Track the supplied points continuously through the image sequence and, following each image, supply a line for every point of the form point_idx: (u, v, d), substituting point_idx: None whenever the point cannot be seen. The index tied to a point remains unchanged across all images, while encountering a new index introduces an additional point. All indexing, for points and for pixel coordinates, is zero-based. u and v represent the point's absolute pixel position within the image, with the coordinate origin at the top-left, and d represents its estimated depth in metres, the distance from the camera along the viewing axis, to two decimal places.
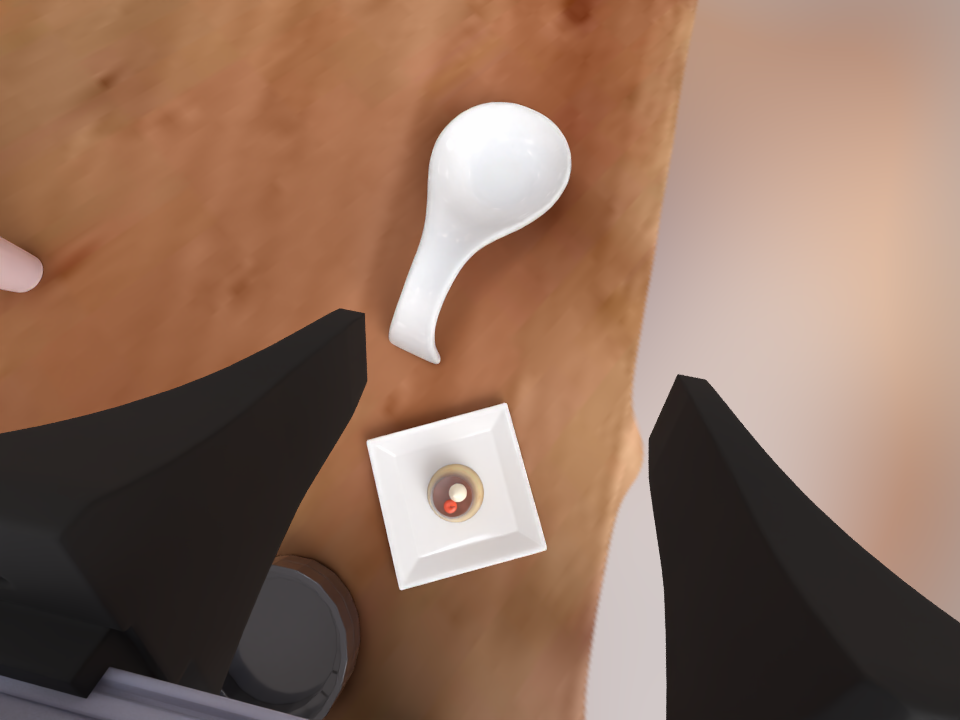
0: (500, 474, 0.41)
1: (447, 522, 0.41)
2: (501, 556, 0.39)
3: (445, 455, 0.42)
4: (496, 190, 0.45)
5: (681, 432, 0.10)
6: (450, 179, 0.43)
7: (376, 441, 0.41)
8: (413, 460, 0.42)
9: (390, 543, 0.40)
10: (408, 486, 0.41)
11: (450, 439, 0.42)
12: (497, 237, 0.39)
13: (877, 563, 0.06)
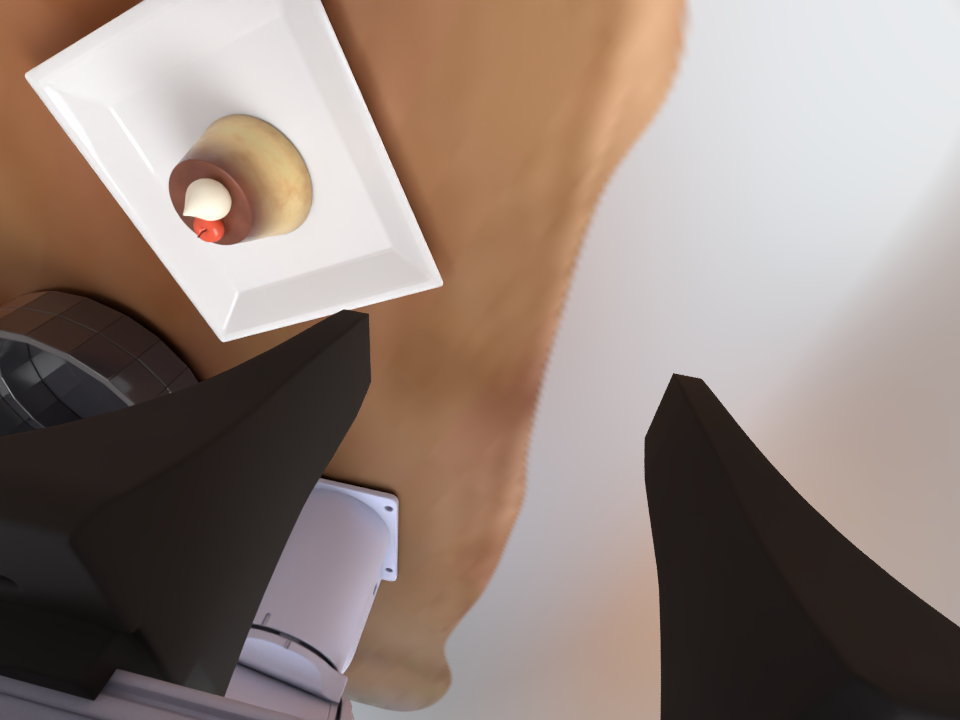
0: (332, 132, 0.18)
1: None
2: (363, 296, 0.21)
3: (206, 95, 0.18)
4: None
5: (676, 431, 0.10)
6: None
7: (43, 75, 0.18)
8: (149, 111, 0.19)
9: (175, 276, 0.22)
10: (167, 169, 0.20)
11: (200, 52, 0.17)
12: None
13: (869, 561, 0.06)
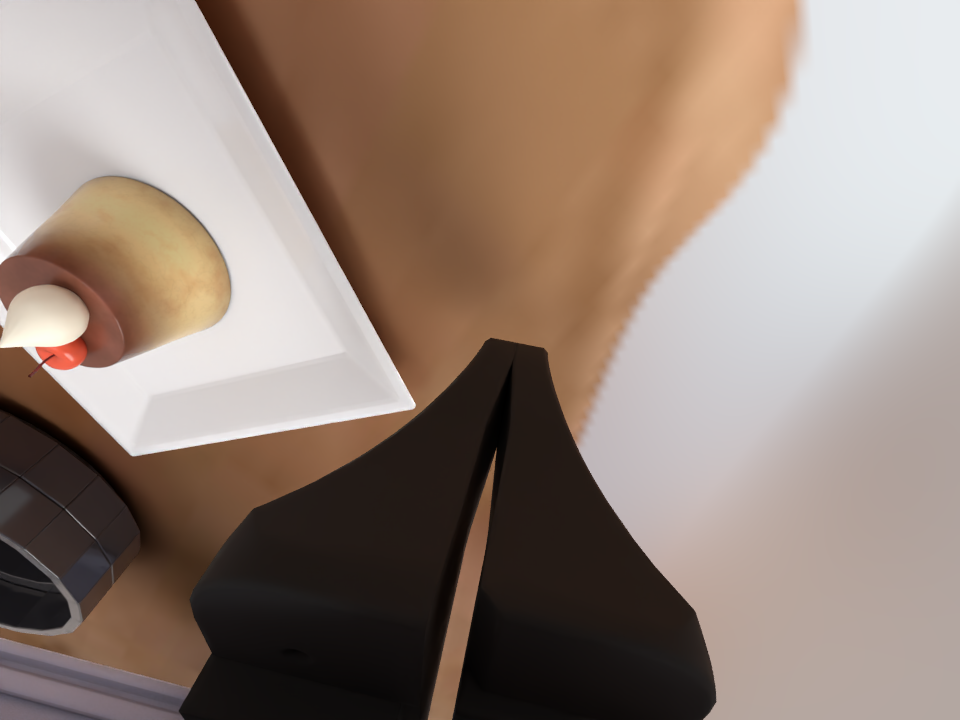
0: (248, 203, 0.12)
1: None
2: (308, 414, 0.15)
3: (66, 149, 0.13)
4: None
5: (507, 397, 0.10)
6: None
7: None
8: None
9: (58, 380, 0.17)
10: None
11: (44, 89, 0.12)
12: None
13: (603, 503, 0.07)
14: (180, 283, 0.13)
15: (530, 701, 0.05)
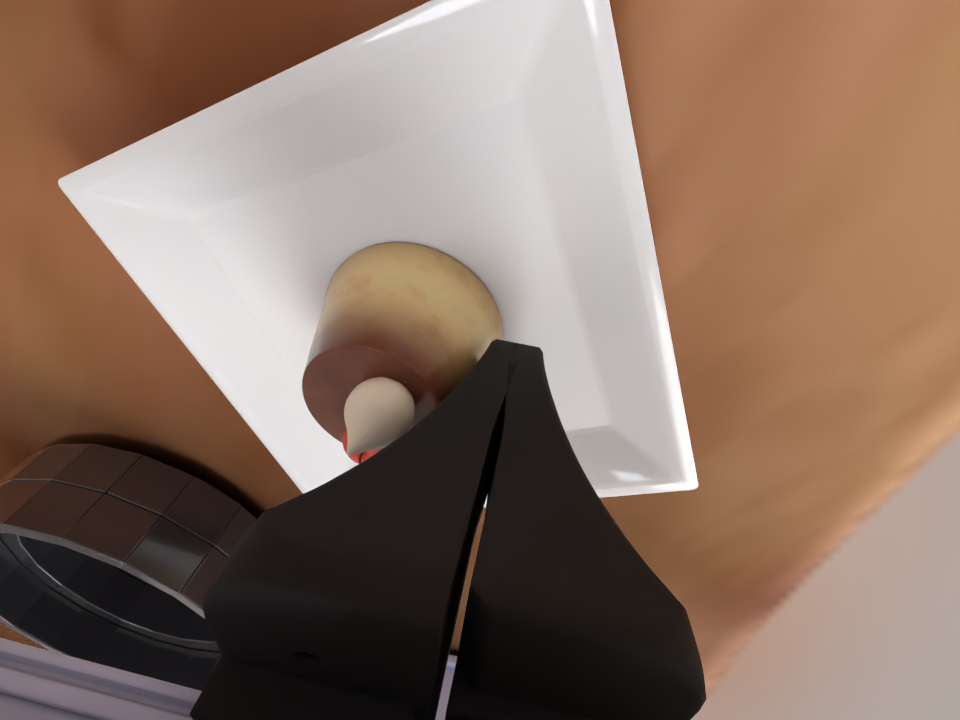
0: (558, 273, 0.11)
1: None
2: None
3: (353, 213, 0.11)
4: None
5: None
6: None
7: (88, 183, 0.11)
8: (253, 231, 0.12)
9: (268, 446, 0.15)
10: (270, 309, 0.13)
11: (355, 151, 0.10)
12: None
13: (596, 502, 0.07)
14: None
15: (521, 699, 0.05)
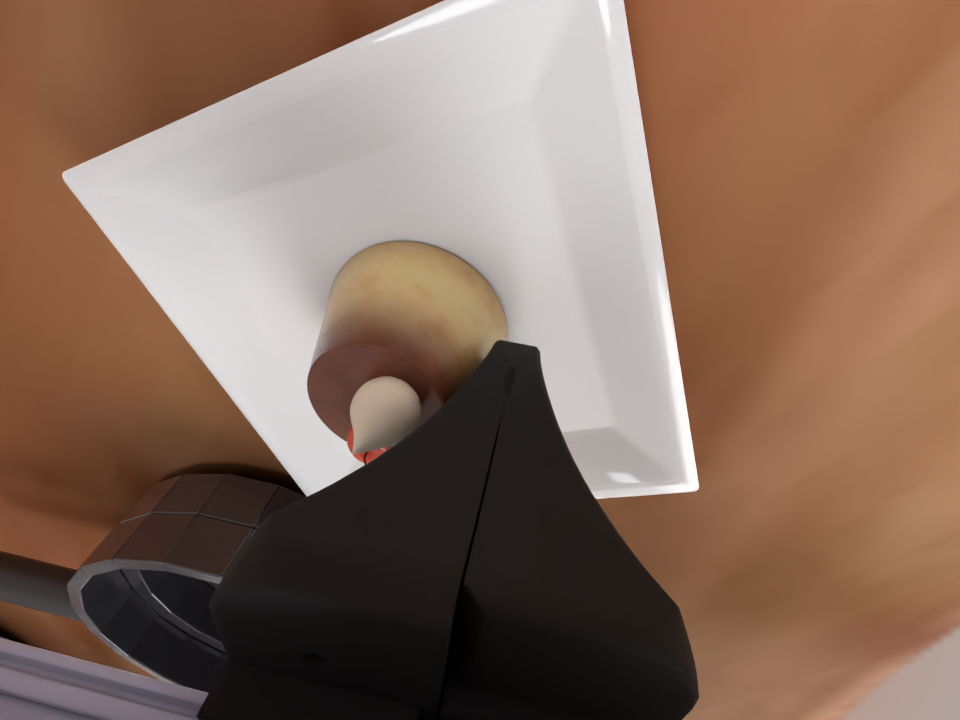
0: (564, 275, 0.11)
1: None
2: None
3: (360, 211, 0.11)
4: None
5: None
6: None
7: (92, 176, 0.11)
8: (258, 227, 0.12)
9: (268, 443, 0.15)
10: (273, 306, 0.13)
11: (363, 149, 0.10)
12: None
13: (591, 501, 0.07)
14: None
15: (515, 697, 0.05)
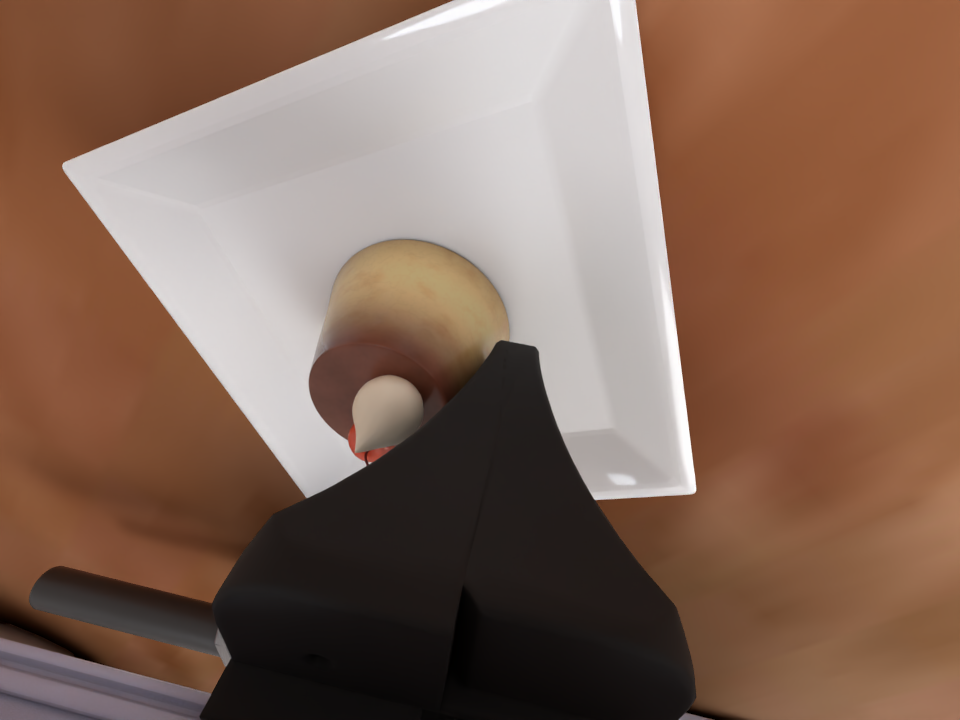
0: (567, 276, 0.11)
1: None
2: None
3: (364, 208, 0.11)
4: None
5: None
6: None
7: (93, 168, 0.11)
8: (260, 223, 0.12)
9: (266, 440, 0.15)
10: (274, 302, 0.13)
11: (369, 146, 0.10)
12: None
13: (589, 500, 0.07)
14: None
15: (513, 697, 0.05)
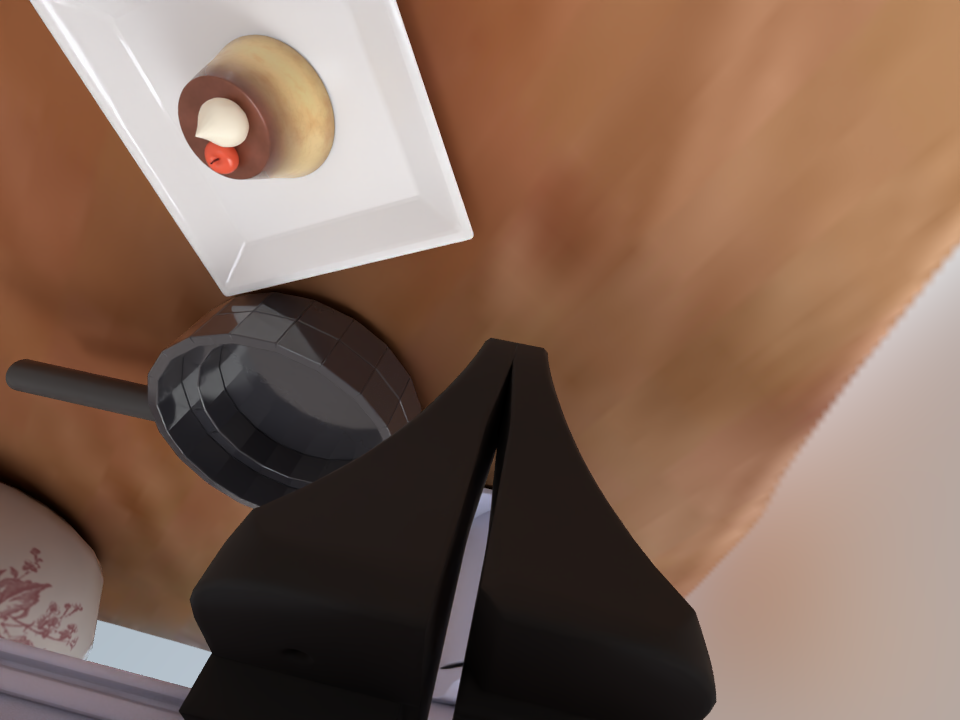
0: (361, 59, 0.17)
1: (275, 177, 0.20)
2: (385, 248, 0.20)
3: (222, 11, 0.16)
4: None
5: (507, 396, 0.10)
6: None
7: None
8: (156, 28, 0.17)
9: (177, 221, 0.21)
10: (173, 98, 0.18)
11: None
12: None
13: (603, 503, 0.07)
14: (306, 119, 0.17)
15: (530, 701, 0.05)
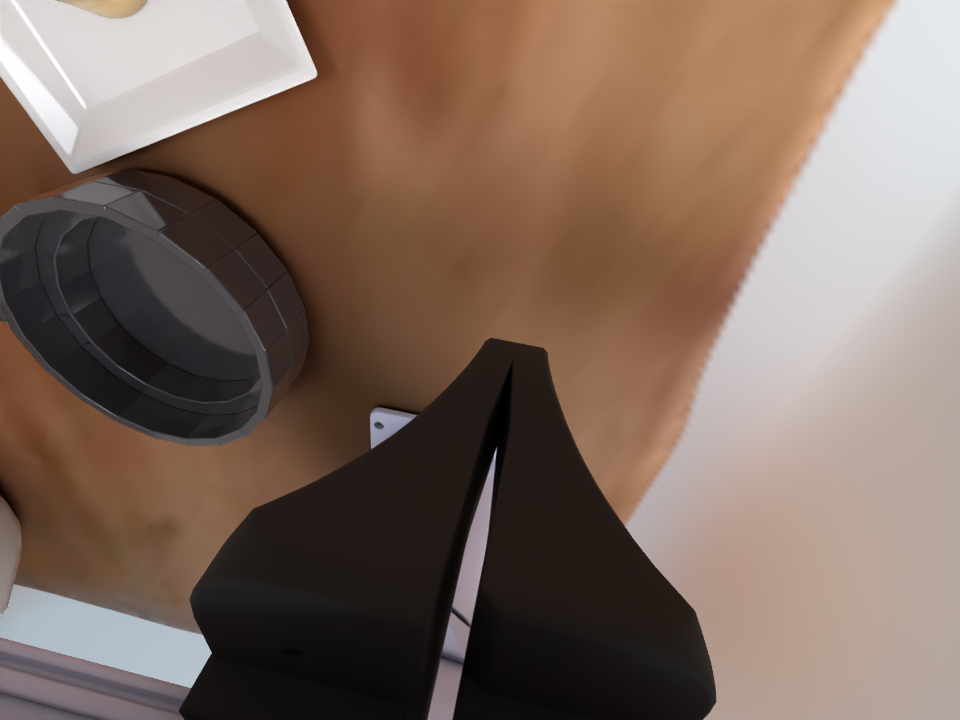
0: None
1: (103, 19, 0.17)
2: (226, 97, 0.17)
3: None
4: None
5: (507, 397, 0.10)
6: None
7: None
8: None
9: (3, 77, 0.18)
10: None
11: None
12: None
13: (603, 503, 0.07)
14: None
15: (530, 701, 0.05)
